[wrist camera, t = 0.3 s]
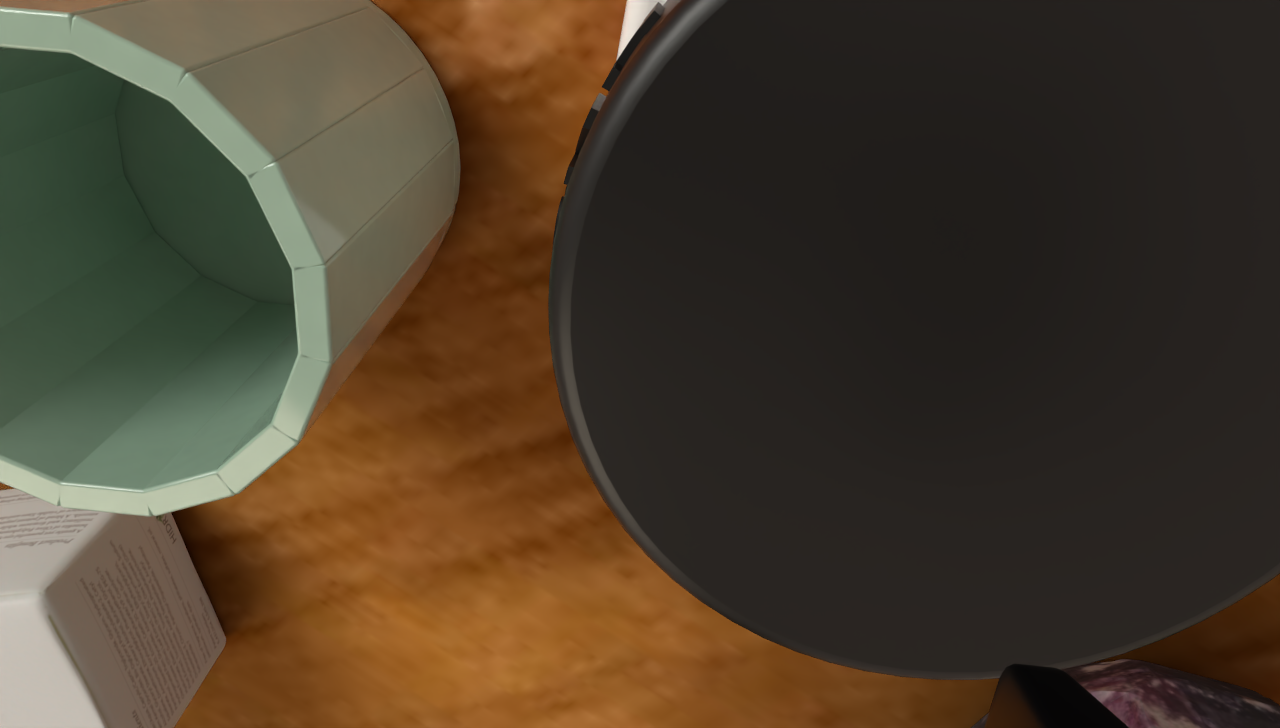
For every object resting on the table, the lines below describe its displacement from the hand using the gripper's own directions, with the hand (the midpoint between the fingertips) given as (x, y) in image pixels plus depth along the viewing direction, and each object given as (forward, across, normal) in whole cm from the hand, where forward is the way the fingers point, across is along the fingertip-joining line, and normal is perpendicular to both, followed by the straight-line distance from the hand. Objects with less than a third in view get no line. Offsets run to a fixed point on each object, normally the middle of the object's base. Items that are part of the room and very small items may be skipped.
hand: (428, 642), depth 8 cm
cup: (+14, +7, 0) cm, 16 cm away
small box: (+15, +12, +12) cm, 23 cm away
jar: (+14, -4, -2) cm, 15 cm away
